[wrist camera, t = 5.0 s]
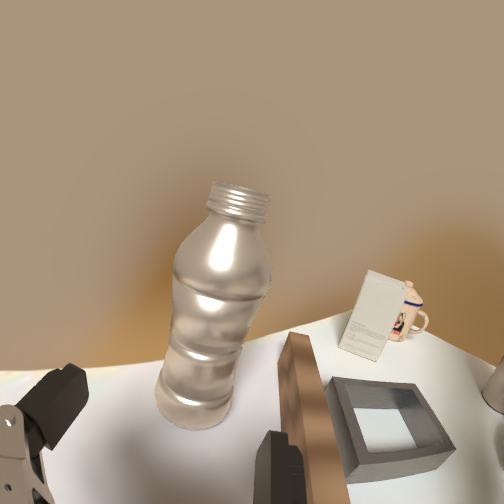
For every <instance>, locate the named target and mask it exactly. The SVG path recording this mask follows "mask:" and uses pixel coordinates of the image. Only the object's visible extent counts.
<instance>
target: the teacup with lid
mask: <svg viewBox="0 0 504 504" xmlns="http://www.w3.org/2000/svg"><path fill="white" fill-rule="evenodd" d="M405 286H406V289H407V292H408V294H407V297H406V299H405V301H404V304H403V306H402V309H401V311H400V313H399V316H398V318H397V320H396V322H395V325H394V327H393V329H392V331H391V333H390V335H389V337H388V339H389V340H392V341H398V342H400V341H404V340H405V339H406V337H407V335H408V333H409V332H410V333H412V334H418V333H421V332H422V331H423V330H424V329H425V328H426V326H427V325H428V316H427V315H426V313H424V312H423V311H421V310H419V309H420V307H421V306H422V305H423V300H422V298H421V297H420V296H418V294H417V293H416V291H415V290H414V289H413V288H412V287H413V283H412V282H410V281H405ZM417 314H420V315H422V316H423V317H424V319H425V324H424V326H423V327H422V328H421V329H420V330H413V329H411V327H412V325H413V322H414V320H415V318H416V316H417Z"/></svg>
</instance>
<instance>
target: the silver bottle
mask: <svg viewBox="0 0 504 504" xmlns="http://www.w3.org/2000/svg"><path fill="white" fill-rule="evenodd" d="M269 201H270V195H269V194H265V193H261V192H258V191H254V190H250V189H247V188H242V187H239V186H235V185H230V184H226V183H221V182H217V181H214V184H212V189H211V193H210V198H209V201H207V204H206V209H207V210H209V211H210V213H209V215H208V218H207V219H206V220H205V221H204V222H203V223H202V224H201V225H199V226H198V227H197V228H196V229H195V230H194V231H193V232H192V233H191V234H190V235H189V236H188V237H187V238H186V239H185V240H184V241H183V243H182V244H181V246H180V247H179V249H178V251H177V253H176V255H175V258H174V266H173V290H172V291H173V292H172V315H171V325H170V326H171V329H170V337H169V344H168V347H167V351H166V355H165V360H164V364H163V368H162V370H161V372H160V374H159V376H158V380H157V383H156V387H155V396H156V401H157V406H158V408H159V411H160V412H161V413H162V415H163V416H164V417H165V418H166V419H167V420H169V421H170V422H171V423H173V424H174V425H176V426H178V427H181V428H184V429H187V430H203V429H208V428H211V427H213V426H216V425H217V424H219V423H220V422H221V421H222V420H223V418H224V417H225V415H226V414H227V413H228V411H229V409H230V407H231V400H232V394H233V379H234V375H235V370H236V365H237V360H238V356H239V354H240V351H241V349H242V345H243V343H244V341H245V338H246V336H247V333H248V330H249V327H250V325H251V323H252V321H253V319H254V317H255V315H256V313H257V311H258V309H259V307H260V305H261V303H262V301H263V299H264V297H265V294H266V293H267V290H268V288H269V285H270V283H271V262H270V259H269V255H268V252H267V249H266V247H265V244H264V242H263V239H262V237H261V235H260V232H259V229H260V223H266V219H267V216H266V212H267V208H268V205H269Z"/></svg>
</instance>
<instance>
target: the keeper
mask: <svg viewBox="0 0 504 504" xmlns="http://www.w3.org/2000/svg"><path fill="white" fill-rule="evenodd" d="M324 394H325V397H326V401H327V405H328V409H329V413H330V417H331V421H332V425H333V429H334V433H335V437H336V441H337V445H338V450H339V454H340V458H341V463H342V467H343V471H344V476H345V480H346V484H354V483H365V482H374V481H382V480H388V479H394V478H400V477H405V476H410V475H415V474H420V473H424V472H428V471H432V470H435V469H437V468H438V467H439V466H440V465H441V464H442V463H443V462H444V461H445V460H446V459H447V458H448V457H449V456H450V455H451V454H452V453H453V452H454V451H455V450H456V448H455V446H454V445H453V443H452V441H451V440H450V438H449V436H448V435H447V433H446V431H445V430H444V428H443V426H442V425H441V423H440V422H439V420H438V418H437V417H436V415H435V414H434V412H433V410H432V409H431V407H430V406H429V404H428V403H427V401H426V400H425V398H424V397H423V395H422V394H421V392H420V391H419V389H418V388H417V386H416V385H415V384H411V383H392V382H378V381H367V380H357V379H348V378H340V377H333V376H332V378H331V380H330V382H329V384H328V386H327V388H326V389H325V391H324ZM353 408H370V409H399V411H400V413H401V415H402V417H403V419H404V421H405V423H406V425H407V427H408V429H409V431H410V433H411V435H412V437H413V439H414V441H415V443H416V445H417V447H418V449H412V450H405V451H396V452H386V453H373V454H368V451H367V448H366V445H365V442H364V439H363V436H362V433H361V430H360V427H359V424H358V421H357V418H356V415H355V412H354V410H353Z"/></svg>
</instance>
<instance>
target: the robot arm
mask: <svg viewBox="0 0 504 504" xmlns="http://www.w3.org/2000/svg"><path fill="white" fill-rule="evenodd" d="M482 394H483V397H484V399H485V400H486V401H487V403H488V404H489V405H490V406H491V407H492V408H494V409H495V410H497V411H498V412H500V413H503V414H504V355H503V357H502V359H501V361H500V362H499V364H498V366H497V368H496V369H495V371H494V373H493V374H492V376H491V378H490V379H489V381H488V382H487V384H486V386H485V387H484V389H483V391H482ZM88 397H89V391H88V385H87V378H86V372H85V371H84V370H83V369H81V368H79V367H77V366H75V365H73V364H71V363H69V364H67V365H66V366H65V367H64V368H63V369H62V370H60V369H58V368H57V369H55V370H53V371H50V372H48V373H47V374H46V375H45V376H44V377H43V378H42V380H40V381H39V382H38V383H37V384H36V386H34V387H33V388H32V389H31V390H30V391H29V392H28V393H27V394H26V395H25V396H24V397H23V398H22V399H21V400H20V401H19V402H18V403H17V404H16V405H14V406H13V405H3V406H1V407H0V504H55V502H54V499H53V496H52V494H51V492H50V490H49V488H48V484H47V479H46V475H45V469H44V463H43V457H42V451H41V450H42V448H43V447H44V446H45V447H47V448H48V449H50V450H51V451H52V450H53V449H54V448H55V446H56V445H57V443H58V442H59V441H60V439H61V438H62V436H63V435H64V434H65V432H66V431H67V429H68V428H69V427H70V425H71V424H72V423H73V421H74V420H75V418H76V417H77V416H78V414H79V413H80V412H81V410H82V409H83V408H84V406H85V405H86V403H87V401H88ZM303 466H304V463H303V455H302V453H301V452H300V450H299V448H298V447H297V446H295V445H289V442H288V434H287V433H285V432H278V431H271V430H269V431H268V432H267V434H266V436H265V438H264V440H263V441H262V443H261V445H260V447H259V449H258V452H257V455H256V462H255V480H254V497H253V504H307V495H306V484H305V476H304V474H305V473H304V468H303Z"/></svg>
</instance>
